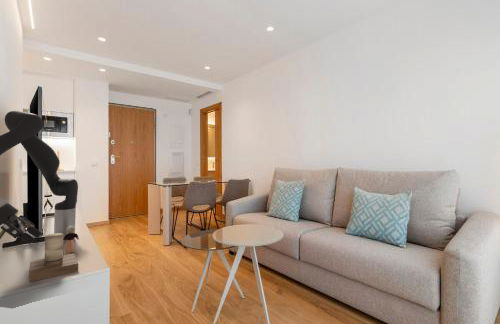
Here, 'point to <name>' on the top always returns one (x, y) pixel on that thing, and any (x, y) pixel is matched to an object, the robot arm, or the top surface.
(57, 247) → the beech peg
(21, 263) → the top surface
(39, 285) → the top surface
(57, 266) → the walnut board
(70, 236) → the grandmother figurine
